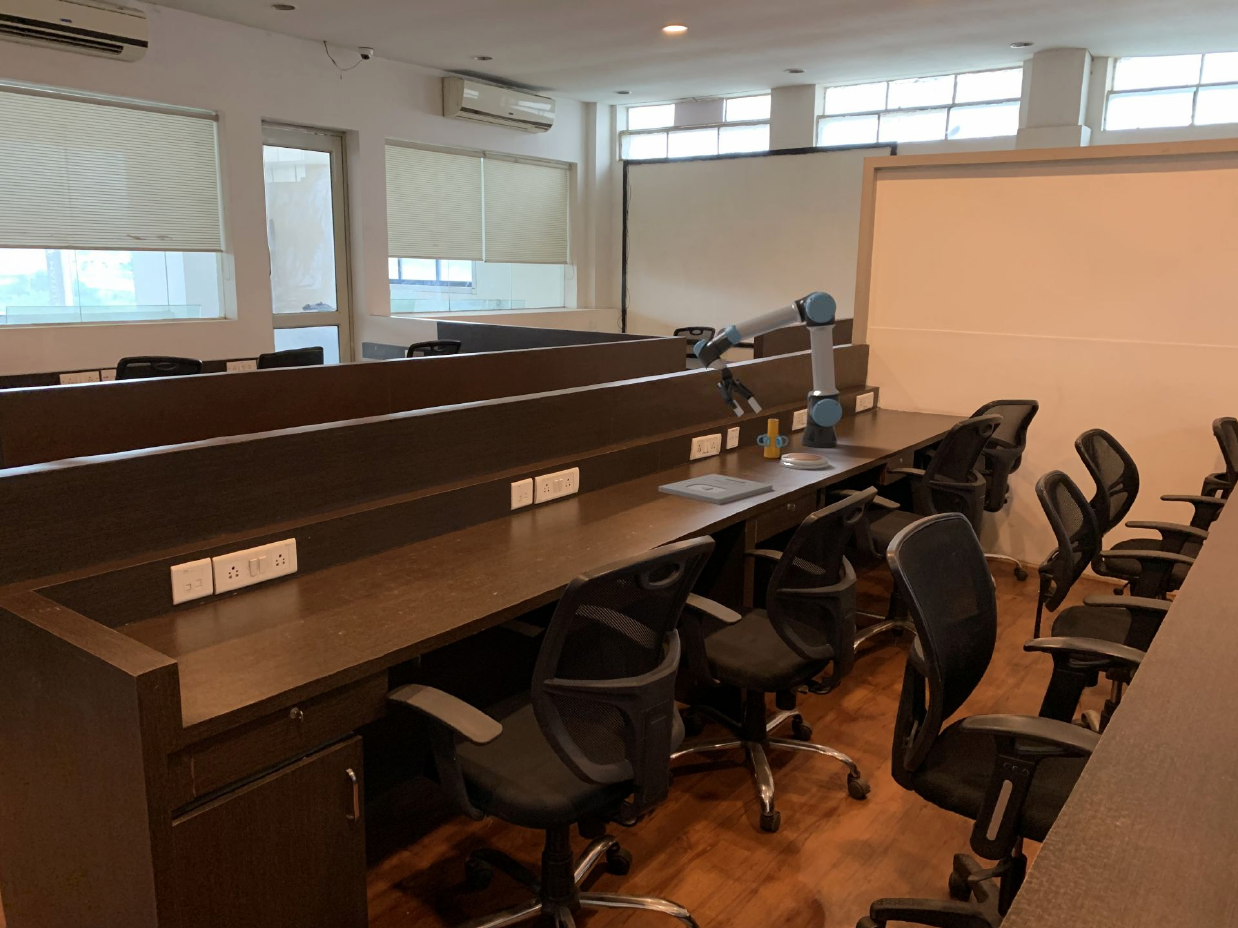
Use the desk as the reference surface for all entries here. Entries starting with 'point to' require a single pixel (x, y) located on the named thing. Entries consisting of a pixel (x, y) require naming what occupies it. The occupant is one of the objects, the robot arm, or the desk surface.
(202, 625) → the desk surface
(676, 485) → the award plaque
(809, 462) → the platter
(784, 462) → the base
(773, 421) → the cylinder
